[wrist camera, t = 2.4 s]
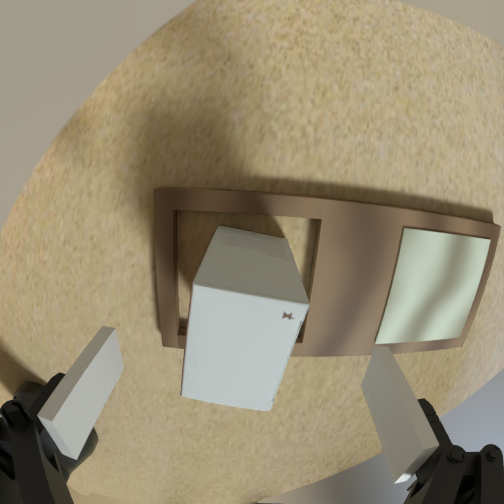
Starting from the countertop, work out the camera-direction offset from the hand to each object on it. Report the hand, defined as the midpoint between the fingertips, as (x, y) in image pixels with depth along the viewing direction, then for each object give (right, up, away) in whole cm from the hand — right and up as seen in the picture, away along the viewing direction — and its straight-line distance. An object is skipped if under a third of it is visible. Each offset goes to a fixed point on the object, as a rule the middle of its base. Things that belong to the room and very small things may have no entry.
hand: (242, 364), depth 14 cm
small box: (0, +4, +11) cm, 11 cm away
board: (+9, +3, +11) cm, 14 cm away
